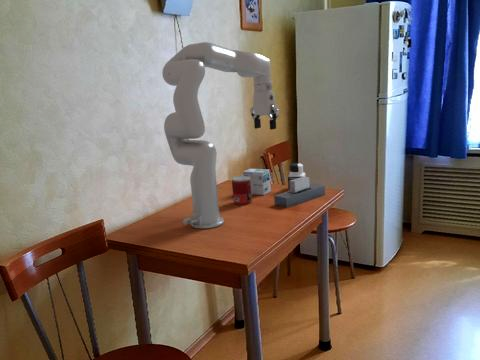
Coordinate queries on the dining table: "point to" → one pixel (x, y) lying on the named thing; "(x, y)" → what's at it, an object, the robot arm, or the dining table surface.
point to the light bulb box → (259, 180)
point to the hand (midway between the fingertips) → (265, 128)
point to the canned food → (241, 190)
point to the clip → (299, 185)
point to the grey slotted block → (299, 196)
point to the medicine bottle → (295, 172)
